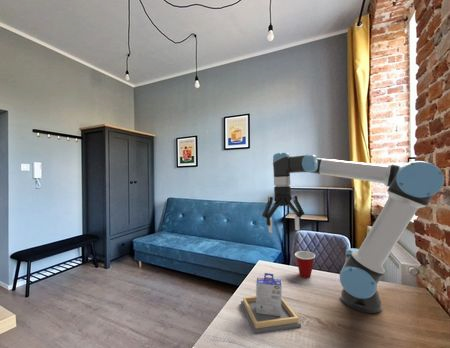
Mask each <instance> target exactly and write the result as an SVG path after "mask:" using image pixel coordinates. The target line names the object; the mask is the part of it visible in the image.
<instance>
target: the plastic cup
mask: <svg viewBox="0 0 450 348" xmlns="http://www.w3.org/2000/svg"><path fill="white" fill-rule="evenodd" d="M294 256H295V258H296V262H297V268H298V274H299V276H300V277H302V278H305V279H307V278H308V279H310V278H311V276H312V271H313V268H314V267H313V266H314V262H315V258H316V254H315V253H314V252H311V251H306V250H301V251H296V252H295V253H294Z"/></svg>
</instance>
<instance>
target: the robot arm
mask: <svg viewBox="0 0 450 348" xmlns="http://www.w3.org/2000/svg"><path fill="white" fill-rule="evenodd" d="M272 167H273V170H272V171H273V185H274V187H273V192H274V194H273V195H274V196H268V198H267V202H266V205H265V208H264V209H263V213H262V218H265V219H266V221H265V223H266V225H267V227H268V233H269V234H273V219H272V216H273V214H274V213H275V212H276V210H277V209H278V208H279V207H289V209H290V210H291V211H292V212H293V213H294V214H295V215H294V227H295V228H294V230H295V231H297V232H299V231H300V230H301V229H300V224H301V223H302V222H301V221H302V220H301V217H302V216H305V212H304V209H303V208H302V206H301V204H300V202H299V199H298V196H297V195H291V194H292V193H291V192H292V191H291V189H292V188H291V186H290V185H291V174H296V173H298V174H299V173H311V174H316V175H317V174H318V175H326V176H333V177H339V178H345V179H352V180H357V181H364V182H373V183H378V184H383V185H384V186H385V187H388V188H387V190H386V191H387V194H388V199H387V200H386V202H385V204H384V206H383V207H382V209H381V211H380V212H379V214H378V216H377V217H376V219H375V221H374V222H373V224H372V226H371V228H370V230H369V231H368V233H367V235H366V237H365V238H364V240H363V241H362V243H361V245H360V247H359V248H353V247H352V248H346V250H345V262H344V264H343V267H342V269H341V270H340V272H339V281H340V285H341V287H342V290H341V292H340V299H341V301H342V303H343V304H345V305H346V306H348V307H349V308H351V309H353V310H355V311H358V312H361V313H366V314H377V313H380V312H381V311H382V309H383V308H382V307H383V306H382V301H381V299H380V295H379V292H378V289H377V288H378V283H380V280H381V279H382V277H383V276H384V274H385V271H386V270H385V268H384V264H385V263H386V261H387V259H388V257H389V255H390V254H391V253H392V251H393V249H394V247H396V244H397V243H398V241H399V240H400V238H401V237H402V235H403V233H404V232H405V231H406V228H407V227H408V225H409V223H410V222H411V221H412V219H413V217H414V215H415V214H416V213H417V211H418V210H419V209H421V208H426V207H427V206H428V205H429V203H430V202H431V200H432V198H433V197H434V195H436V194H437V193H439V191H441V189H442V188H443V186H444V183H445V177H444V173H443V172H442V170H441V169H440V168H439V167H438V166H437V165H436V164H433V163H431V162H429V161H425V160H424V161H423V160H413V161H409V162H407V163H392V162H391V163H390V162H389V163H388V164H387V165H386V164H377V163H376V164H375V163H370V162H369V163H367V162H360V161H359V162H358V161H348V160H339V159H330V158H320V157H317V155H315V154H305V155H296V156H290V153H288V152H278V153H275V154H273V157H272ZM291 200H292V201H293V202H291ZM273 202H274V203H273ZM293 203H294V205H295V206H294V205H293ZM272 204H273V205H272Z"/></svg>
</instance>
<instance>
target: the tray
mask: <svg viewBox="0 0 450 348" xmlns="http://www.w3.org/2000/svg"><path fill="white" fill-rule="evenodd" d="M240 305H241V307H242V309H243V312H244V313H245V316H246V318H247V321H248V323H249V324H250V327H251V329H252V331H253V333H254V334H261V333H267V332H269V333H270V332H275V331H282V330H290V329H296V328H301V327H302V323H301V321H300V320H299V317H298V316H297V314H296V313H295V312H294V310H293V309H292V308H291V307H290V305H289V304H288V303H287V302H286V301H285V300H284V298H283V297H281V316H274V315H266V314H258V313H256V296H244V297H242V300H240Z"/></svg>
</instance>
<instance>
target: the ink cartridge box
mask: <svg viewBox="0 0 450 348" xmlns="http://www.w3.org/2000/svg"><path fill="white" fill-rule="evenodd" d="M263 276H264V277H256V282H255V285H256V286H255V287H256V288H255V289H256V293H255V294H256V313H258V314H266V315H274V316H281V297H282V293H283V292H282V289H283V288H282V280H281V278H274V273H270V272H269V273H267V272H264V275H263ZM267 276H268V277H267ZM282 298H283V297H282Z"/></svg>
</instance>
